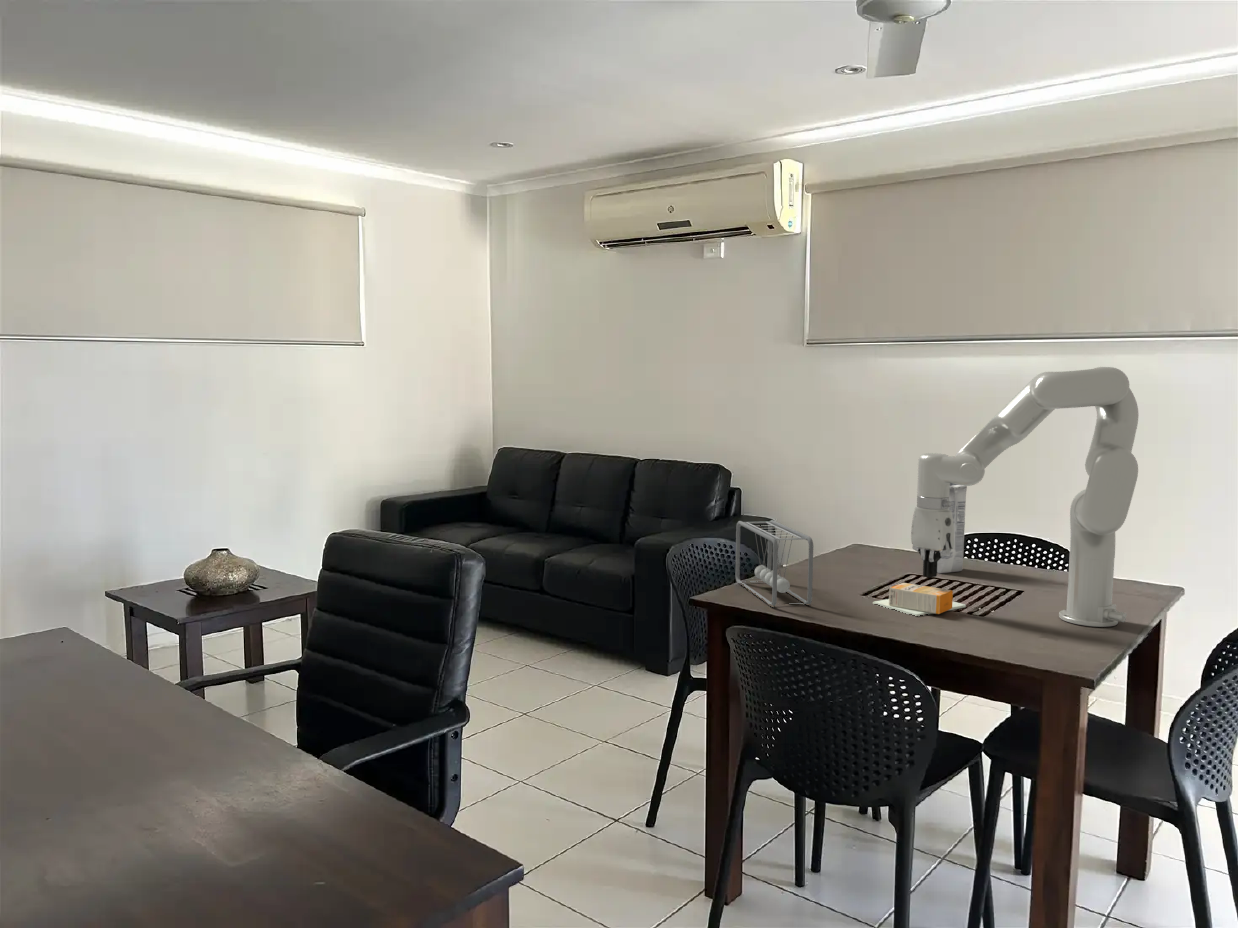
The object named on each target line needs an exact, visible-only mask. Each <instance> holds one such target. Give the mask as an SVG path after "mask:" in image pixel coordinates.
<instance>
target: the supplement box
mask: <svg viewBox="0 0 1238 928" xmlns="http://www.w3.org/2000/svg"><path fill="white" fill-rule="evenodd" d="M888 590H889V591H888V599H889V605H890V606H895V607H901V608H907V609H913V610H919V611H924V612H930V613H933V614H935V615H940V614H943V613H945V612H947V610H949V609H952V601H954V600H953V599H954V597H953V596H954V591H953V590H951V589H945V588H940V587H933V586H927V585H919V584H913V583H907V582H902V583H899V584H896V585H893V586H891V587H889V589H888ZM949 611H950V610H949Z"/></svg>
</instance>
